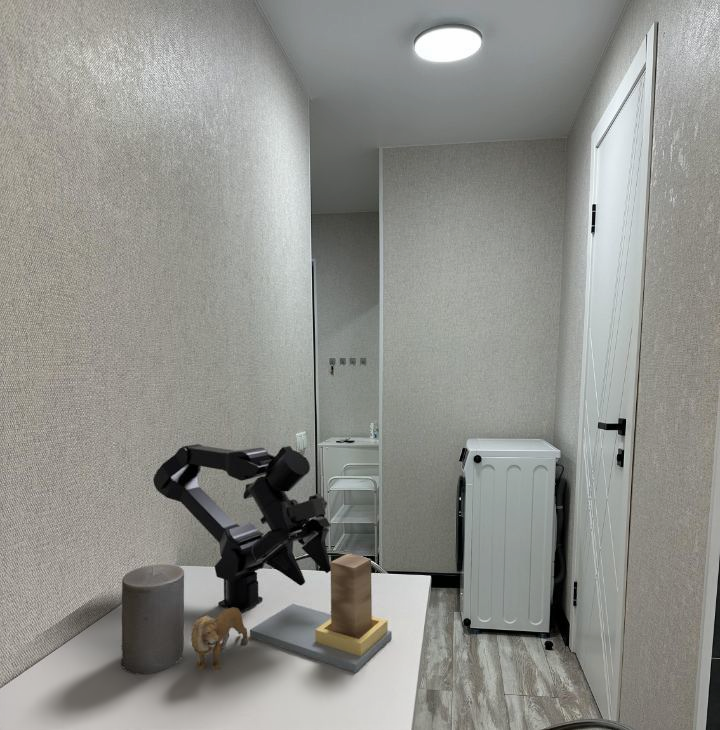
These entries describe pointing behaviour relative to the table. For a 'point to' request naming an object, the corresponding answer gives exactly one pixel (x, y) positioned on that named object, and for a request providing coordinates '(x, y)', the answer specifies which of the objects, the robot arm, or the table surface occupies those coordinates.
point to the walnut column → (351, 596)
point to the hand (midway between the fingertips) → (316, 577)
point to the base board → (321, 637)
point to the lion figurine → (216, 634)
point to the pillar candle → (152, 618)
